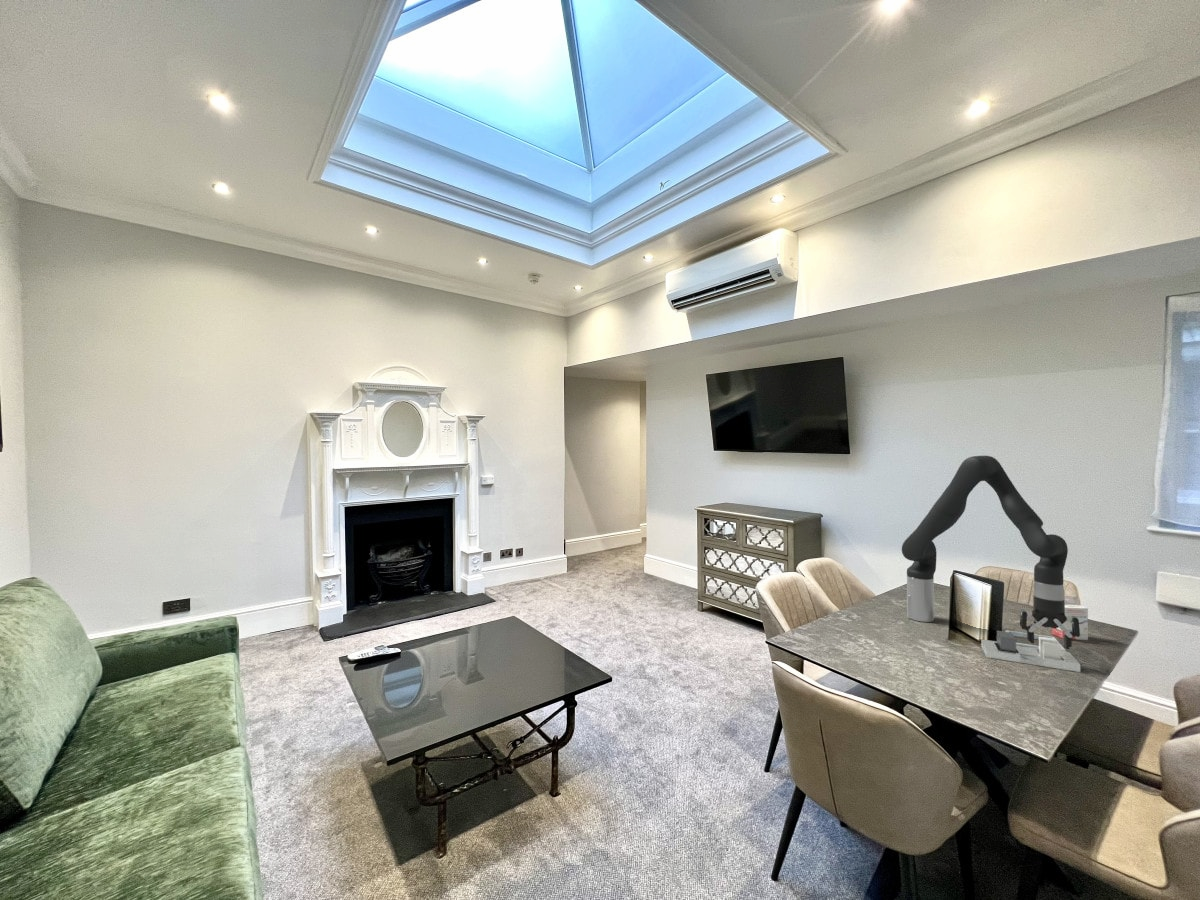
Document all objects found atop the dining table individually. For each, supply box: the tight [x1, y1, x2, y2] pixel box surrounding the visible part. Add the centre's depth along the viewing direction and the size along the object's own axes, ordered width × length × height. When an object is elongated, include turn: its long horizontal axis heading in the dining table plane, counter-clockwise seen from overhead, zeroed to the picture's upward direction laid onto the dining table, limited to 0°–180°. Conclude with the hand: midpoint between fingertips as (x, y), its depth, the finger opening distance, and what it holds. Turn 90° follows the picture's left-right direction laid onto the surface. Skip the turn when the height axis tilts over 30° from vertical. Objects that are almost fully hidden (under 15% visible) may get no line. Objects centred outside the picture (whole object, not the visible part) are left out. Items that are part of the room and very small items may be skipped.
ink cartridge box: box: [1051, 595, 1089, 641], centre depth 176 cm, size 9×5×15 cm, turn 84°
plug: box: [1038, 637, 1062, 660], centre depth 157 cm, size 4×6×7 cm, turn 149°
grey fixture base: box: [980, 630, 1081, 673], centre depth 160 cm, size 23×10×7 cm, turn 60°
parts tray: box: [1004, 629, 1067, 652], centre depth 171 cm, size 14×14×2 cm
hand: (1049, 645), depth 157 cm, fingers open, 8 cm apart
